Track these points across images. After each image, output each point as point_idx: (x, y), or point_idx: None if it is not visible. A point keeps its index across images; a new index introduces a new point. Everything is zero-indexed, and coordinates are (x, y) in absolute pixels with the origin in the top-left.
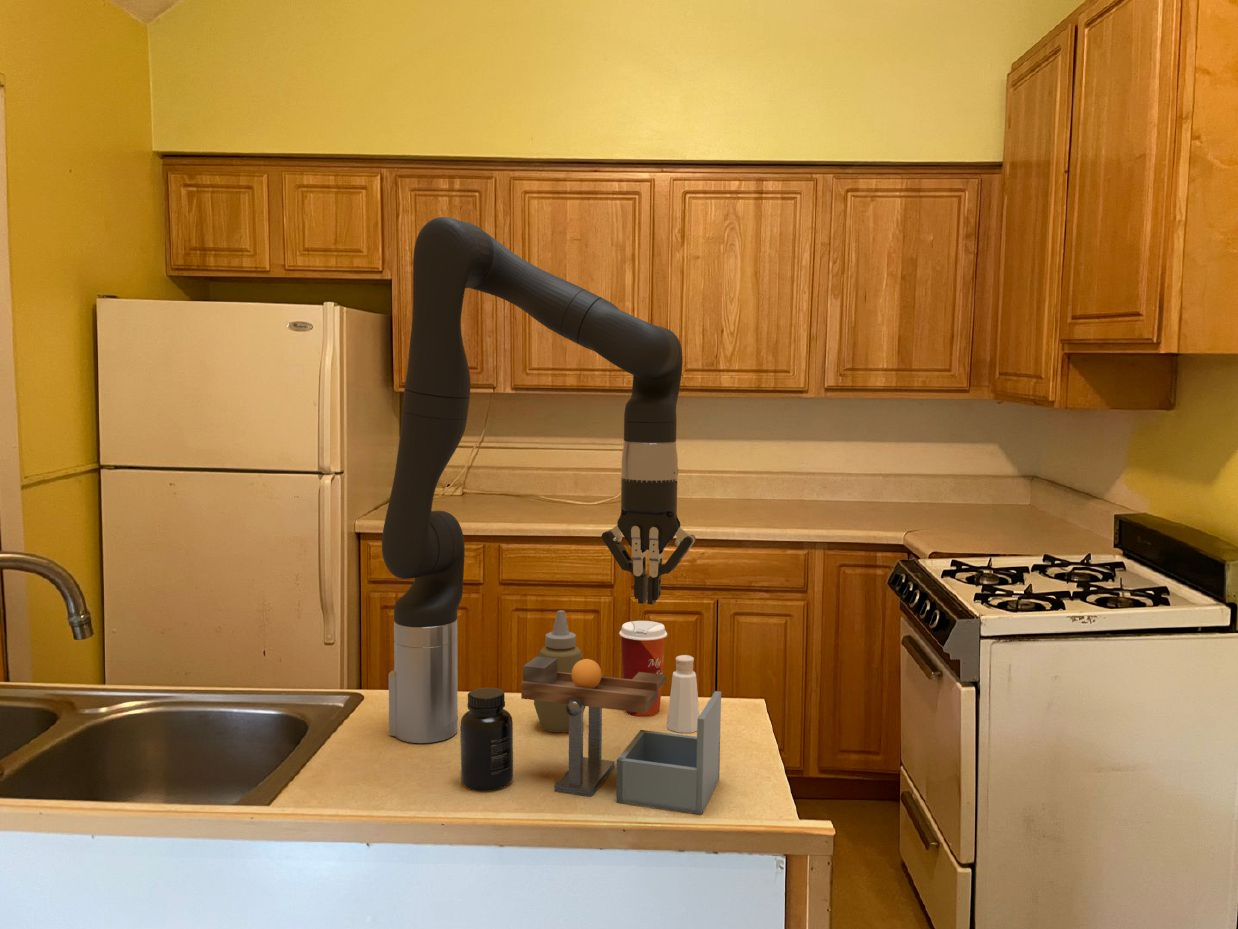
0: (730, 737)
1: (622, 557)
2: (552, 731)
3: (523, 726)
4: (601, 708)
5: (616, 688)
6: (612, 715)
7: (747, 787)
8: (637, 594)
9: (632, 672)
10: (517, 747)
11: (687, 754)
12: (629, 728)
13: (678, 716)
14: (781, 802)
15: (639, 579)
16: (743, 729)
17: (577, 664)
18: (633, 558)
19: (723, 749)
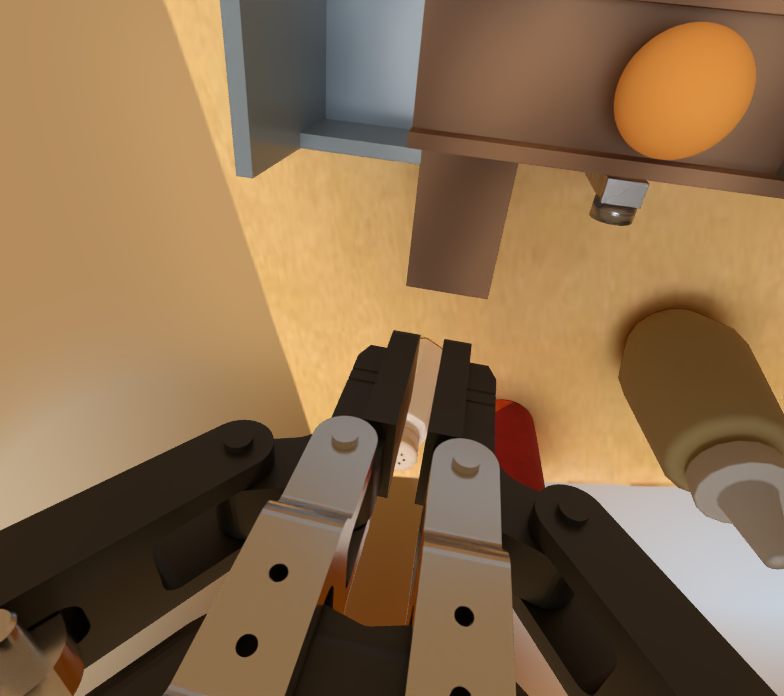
0: (332, 329)
1: (605, 585)
2: (687, 309)
3: (755, 335)
4: (590, 173)
5: (549, 124)
6: (556, 402)
7: None
8: (475, 379)
9: (521, 460)
10: (779, 220)
11: (368, 133)
12: (519, 348)
13: (421, 356)
14: (183, 39)
15: (455, 424)
16: (318, 364)
17: (742, 70)
18: (496, 549)
19: (335, 277)
